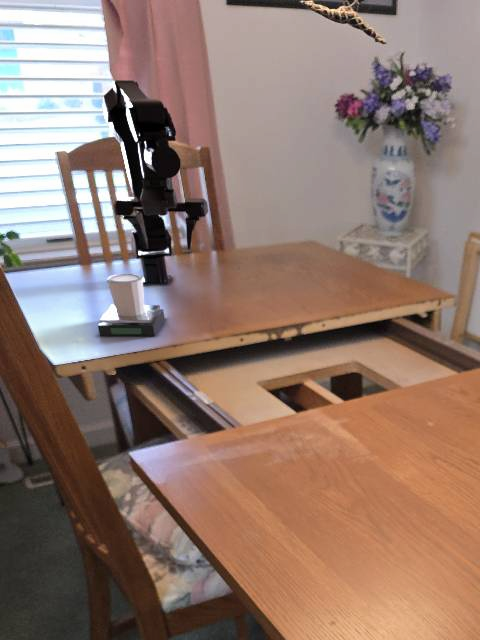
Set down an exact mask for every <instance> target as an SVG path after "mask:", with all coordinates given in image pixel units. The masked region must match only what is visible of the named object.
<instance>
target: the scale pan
mask: <svg viewBox="0 0 480 640" xmlns="http://www.w3.org/2000/svg"><path fill="white" fill-rule="evenodd" d="M159 309H161V306H160V305H159V304H145V312H144V313H143V314H141V315H137V316H121V315H118V314H117V312H116V308H115V305H114V304H111V305H110V306H109V308H108V309H107V310H106V312H105V313H104V314H103V315H102V317H100V319H99V323H100V322H101V323H151V322H152V320H153V318H154V317H155V315H156V314H157V312H158V310H159Z"/></svg>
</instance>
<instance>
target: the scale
mask: <svg viewBox="0 0 480 640" xmlns="http://www.w3.org/2000/svg"><path fill="white" fill-rule="evenodd" d="M165 320H166V318H165V312H164V309H163V308H160V309H159V310H158V312H157V314H156V315H155V317H154V318H153V320H152V322H151V323H101V322H100V321H99V323H98V325H97V328H98V333H99V336H100V337H156V335H157V333H158V331H159V330H160V328H161V326H162V325H163V323H164V322H165Z"/></svg>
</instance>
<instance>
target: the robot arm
mask: <svg viewBox="0 0 480 640" xmlns="http://www.w3.org/2000/svg"><path fill="white" fill-rule="evenodd" d="M111 85H112V87H111V89H109V90H108V91H107V92H106V93H105V94H104V95H103V99H102V100H103V101H102V102H103V103H102V109H103V115H104V119H105V122H106V123H107V124H108V125H109V129H110V133H111V134H112V135H113V137H114V138H115V139H116V141H117V142H118V143H119V144H120V147H121V152H122V156H123V160H124V165H125V169H126V174H127V178H128V183H129V187H130V193H131V196H120V197H119V198H117V199H116V200H115V201H114V204H113V208H114V215H116V216H122V219H123V220H126V221H128V222H129V223H130V224H131V230H132V231H131V233H130V248H131V252H132V255H133V256H134V258H135V259H136V260H138V259H140V263H141V269H142V274H143V277H142V279H143V285H168V284H169V282H170V281H171V279H172V275H170V274H168V270H167V263H166V258H165V257H172V255H173V250H172V239H173V238H172V235H171V234H170V232H169V230H168V229H167V228H166V224H165V220H164V219H163V216H166V215H168V214H169V213H170V212H173V213H185V214H187V215H186V217H185V218H184V220H185V227H186V245H187V250H188V251H189V250H191V248H192V244H193V243H192V242H193V237H194V233H195V228H196V225H197V222H198V221H201V219H202V218H205V217H206V216H207V215H208V213H209V206H208V201H207V200H206V199H205V198H204V197H203V198H201V197H199V198H198V197H195V198H193V197H192V198H191V197H188V198H187V199H186V200H185V201H183V202H180V201H179V202H178V198H177V194H176V191H175V189H174V186H173V178H174V177H175V176H176V175H178V173H179V172H180V169H181V167H182V166H181V164H182V163H181V158H180V156H179V154H178V153H177V151H176V150H175V149H174V148H172V147H171V146H170V145H169V142H176V136H177V131H176V128H175V124H174V122H173V118H172V116H171V113H170V112H169V110H168V108H167V107H165V105H164V102H162V101H161V100H159V99H155V98H148V96H147V95H146V94H145V93H144V92H143V91H142V90H141V89H140V86H139V82H137V81H135V80H134V79H133V80H131V79H116V80H114V81H112V84H111ZM168 212H169V213H168Z"/></svg>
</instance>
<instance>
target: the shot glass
mask: <svg viewBox="0 0 480 640" xmlns="http://www.w3.org/2000/svg"><path fill="white" fill-rule="evenodd" d="M106 281H107V284H108V288H109V291H110V295H111V298H112V302H113V305H115V308H116V312H117V314H118V315H121V316H137V315H141V314H143V313H144V312H145V305H146V304H145V294H144V292H145V291H144V284H143V276H142V275H139V274H136V273H120V274H114V275H110V276H108V277H107V278H106Z"/></svg>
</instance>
